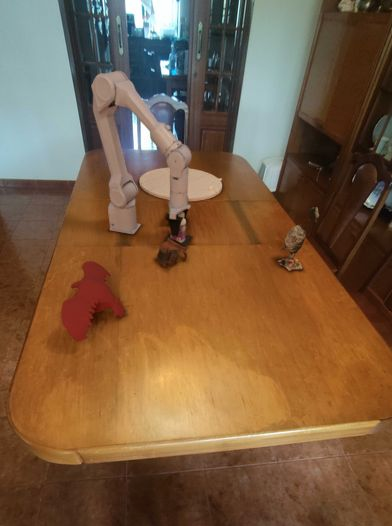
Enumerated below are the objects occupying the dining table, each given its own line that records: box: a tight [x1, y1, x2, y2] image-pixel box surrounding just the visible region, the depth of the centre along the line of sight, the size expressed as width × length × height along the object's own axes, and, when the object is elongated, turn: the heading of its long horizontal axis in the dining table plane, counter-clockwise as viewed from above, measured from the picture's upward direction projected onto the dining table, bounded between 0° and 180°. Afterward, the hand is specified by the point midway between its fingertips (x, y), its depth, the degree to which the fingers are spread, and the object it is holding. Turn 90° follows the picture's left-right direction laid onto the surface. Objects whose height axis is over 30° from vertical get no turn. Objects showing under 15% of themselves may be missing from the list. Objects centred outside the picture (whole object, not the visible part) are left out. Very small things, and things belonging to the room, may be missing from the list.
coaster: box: [164, 233, 192, 247], centre depth 114 cm, size 8×8×1 cm
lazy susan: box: [138, 167, 223, 202], centre depth 150 cm, size 40×39×3 cm
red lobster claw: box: [60, 260, 126, 343], centre depth 81 cm, size 28×9×15 cm
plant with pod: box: [276, 206, 320, 272], centre depth 101 cm, size 8×11×20 cm
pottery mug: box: [156, 237, 188, 268], centre depth 102 cm, size 12×10×8 cm
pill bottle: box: [169, 212, 187, 243], centre depth 110 cm, size 5×5×10 cm
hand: (177, 230), depth 112 cm, fingers open, 7 cm apart
